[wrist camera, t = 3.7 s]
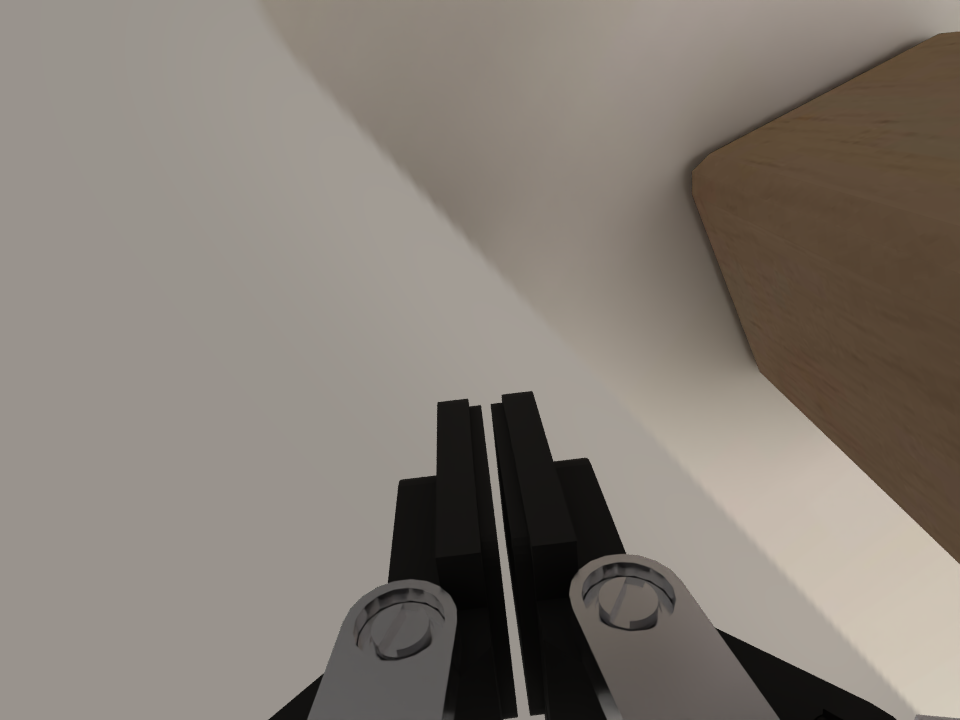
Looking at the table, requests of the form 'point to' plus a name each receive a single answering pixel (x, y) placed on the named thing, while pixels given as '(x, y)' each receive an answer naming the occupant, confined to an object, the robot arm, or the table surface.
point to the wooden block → (857, 269)
